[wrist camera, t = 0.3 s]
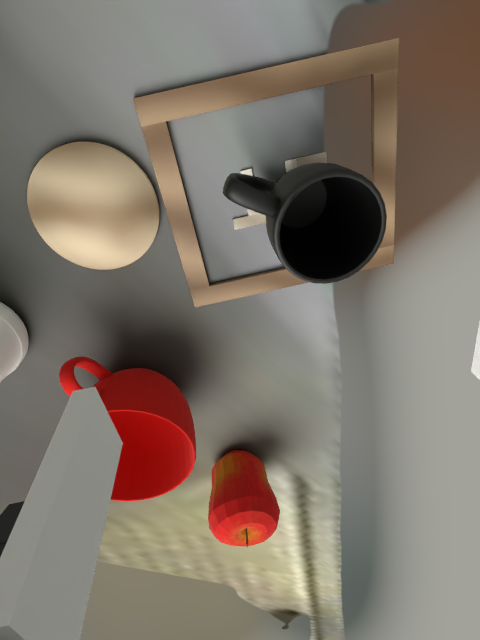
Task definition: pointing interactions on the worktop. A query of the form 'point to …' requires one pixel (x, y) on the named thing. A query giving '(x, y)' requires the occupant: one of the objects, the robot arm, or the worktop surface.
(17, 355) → the vodka
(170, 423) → the ceramic cup
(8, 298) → the worktop surface
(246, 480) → the apple
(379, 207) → the mug
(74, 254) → the coaster
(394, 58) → the brown wooden frame
